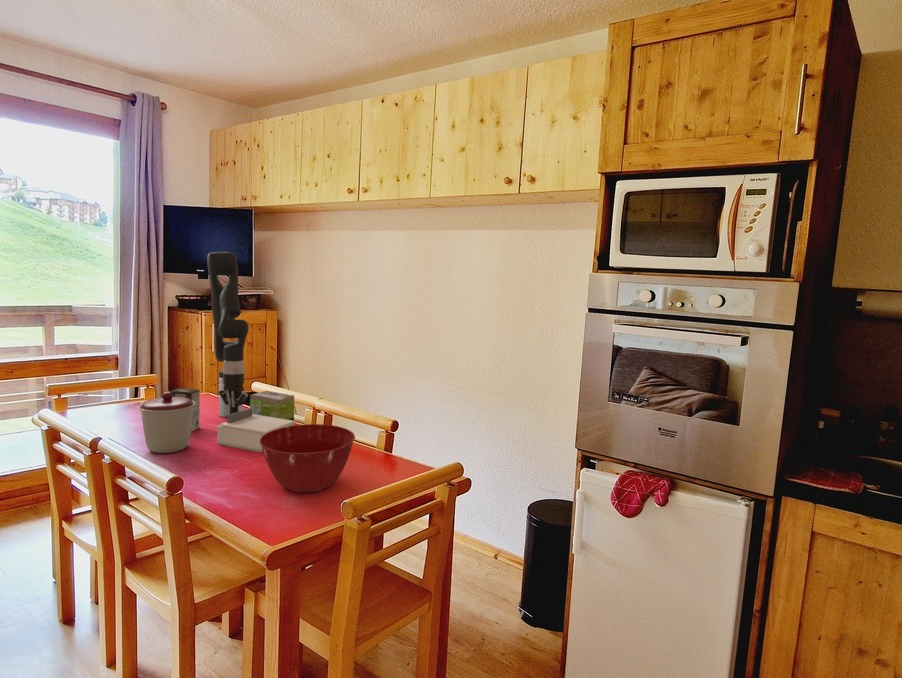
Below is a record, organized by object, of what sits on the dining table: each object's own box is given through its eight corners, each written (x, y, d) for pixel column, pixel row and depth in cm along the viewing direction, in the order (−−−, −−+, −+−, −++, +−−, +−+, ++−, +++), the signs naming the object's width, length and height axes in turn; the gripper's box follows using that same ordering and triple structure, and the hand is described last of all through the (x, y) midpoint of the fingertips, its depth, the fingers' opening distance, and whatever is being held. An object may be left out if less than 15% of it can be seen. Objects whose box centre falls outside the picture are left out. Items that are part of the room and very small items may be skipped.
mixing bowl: (294, 512, 151) (294, 458, 149) (241, 483, 169) (241, 435, 167) (372, 485, 172) (373, 438, 170) (317, 462, 190) (318, 419, 188)
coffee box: (170, 430, 218) (169, 391, 216) (179, 425, 225) (178, 387, 223) (191, 431, 218) (191, 392, 216) (200, 427, 224) (200, 389, 222)
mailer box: (217, 444, 204) (217, 426, 203) (247, 433, 219) (247, 416, 218) (260, 452, 197) (260, 433, 196) (288, 440, 212) (288, 422, 211)
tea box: (249, 429, 224) (249, 394, 222) (266, 423, 233) (266, 389, 231) (278, 435, 218) (279, 399, 217) (294, 429, 228) (295, 394, 226)
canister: (206, 447, 201) (206, 391, 198) (160, 461, 185) (159, 400, 182) (175, 438, 209) (174, 384, 206) (128, 450, 193) (126, 392, 190)
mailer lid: (220, 426, 202) (219, 416, 202) (251, 415, 218) (250, 406, 217) (265, 434, 195) (265, 423, 195) (294, 422, 211) (294, 413, 210)
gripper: (254, 372, 209) (254, 416, 211) (227, 368, 214) (227, 411, 216) (240, 375, 202) (240, 420, 204) (212, 371, 207) (213, 415, 209)
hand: (233, 415), depth 210 cm, fingers closed
